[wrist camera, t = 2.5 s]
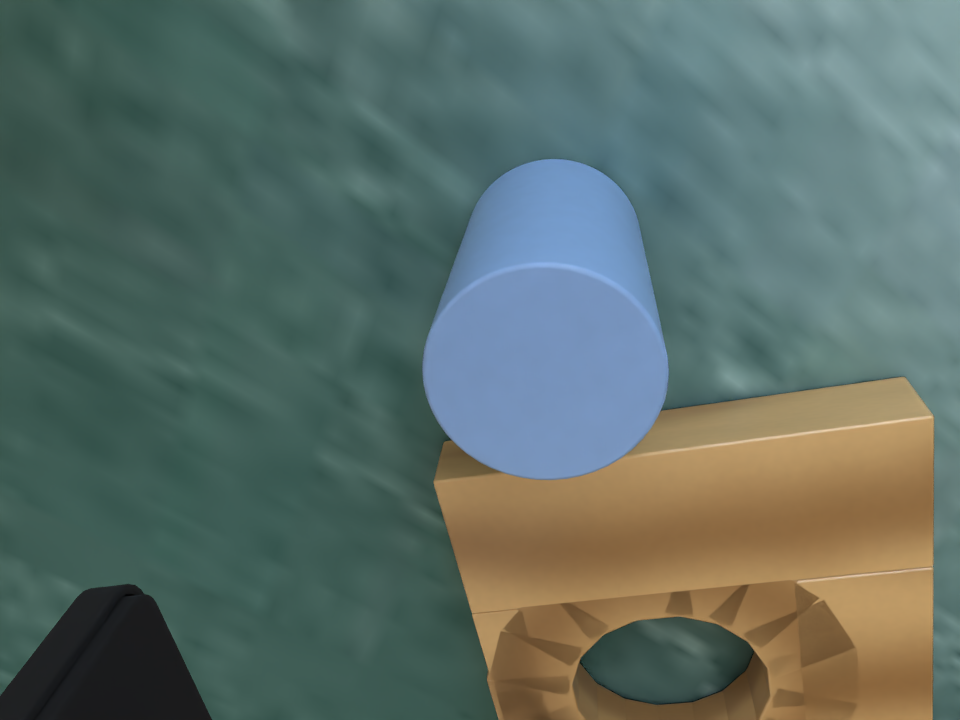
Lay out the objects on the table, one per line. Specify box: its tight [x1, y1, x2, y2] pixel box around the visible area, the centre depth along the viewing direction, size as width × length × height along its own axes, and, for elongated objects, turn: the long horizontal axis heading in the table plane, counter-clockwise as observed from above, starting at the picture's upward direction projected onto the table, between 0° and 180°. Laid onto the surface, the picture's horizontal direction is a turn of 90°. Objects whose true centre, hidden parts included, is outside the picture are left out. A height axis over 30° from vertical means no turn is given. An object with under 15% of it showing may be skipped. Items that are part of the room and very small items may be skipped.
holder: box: [434, 377, 934, 720], centre depth 25 cm, size 16×12×2 cm
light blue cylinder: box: [422, 159, 669, 480], centre depth 18 cm, size 4×4×7 cm
